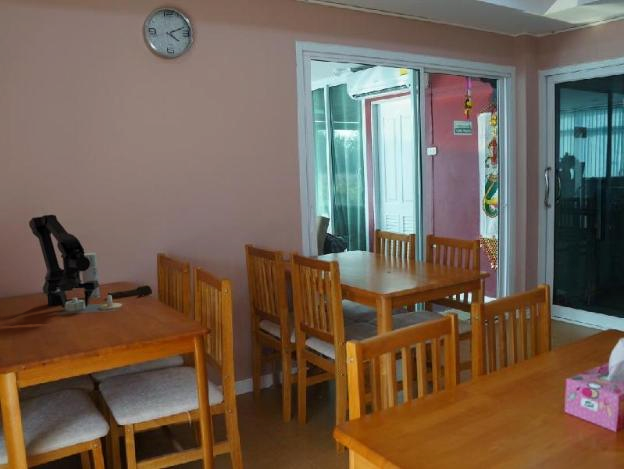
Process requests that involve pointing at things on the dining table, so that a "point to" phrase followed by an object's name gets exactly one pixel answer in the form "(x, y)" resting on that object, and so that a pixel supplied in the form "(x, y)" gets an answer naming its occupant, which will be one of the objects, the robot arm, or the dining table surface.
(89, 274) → the spray can
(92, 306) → the rod board
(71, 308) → the ring
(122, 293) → the hand tool
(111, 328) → the dining table surface
